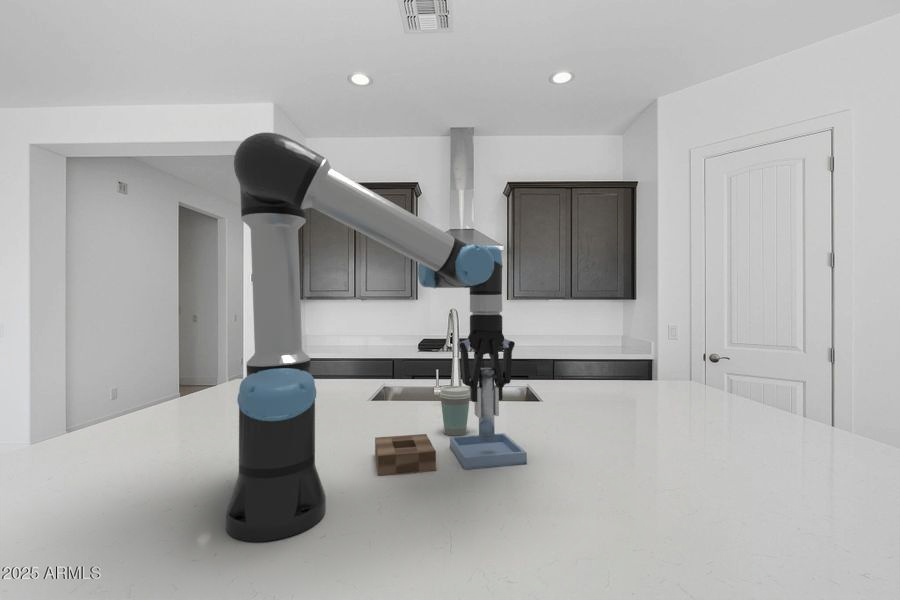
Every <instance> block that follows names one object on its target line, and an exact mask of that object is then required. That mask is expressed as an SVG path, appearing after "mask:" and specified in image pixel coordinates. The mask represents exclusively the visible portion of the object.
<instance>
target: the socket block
mask: <svg viewBox="0 0 900 600" xmlns="http://www.w3.org/2000/svg"><path fill="white" fill-rule="evenodd" d="M374 457H375V463H376V464H375V465H376V470H377V476H378V477H379V476H387V475H388V476H389V475H400V474H409V473H410V474H411V473H420V472H423V473H424V472H431V471H437V460H436V459H437V452H436V449H435V447H434V446H433V444H432V442H431V440H430V438H429V436H428V435H427V433H424V434H423V433H422V434H421V433H420V434H408V435H407V434H406V435H393V436H379V437H378V436H377V437H374Z"/></svg>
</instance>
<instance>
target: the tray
mask: <svg viewBox="0 0 900 600" xmlns="http://www.w3.org/2000/svg"><path fill="white" fill-rule="evenodd" d="M449 448H450V450H451V452H452V453H453V454H454V456H455V457H456V459H457V460H458V461H459V463H460V465H461V467H462V468H463V469H464V470H473V469H474V470H475V469H483V468H484V469H485V468H486V469H487V468H497V467H507V466H519V465H520V466H521V465H527V461H528V460H527V458H528V457H527V451H526V450H524V448H522V447H521V446H520V445H519V444H518V443H516V442H515V441H514V440H513V439H512V438H511V437H509V436H508V435H507V434H506V433H503V432H501V433H500V432H499V433H495V440H494V441H491V442H483V441H480V440H479V434H477V435H475V434H474V435H461V436H450V437H449Z"/></svg>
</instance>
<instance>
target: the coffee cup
mask: <svg viewBox="0 0 900 600" xmlns="http://www.w3.org/2000/svg"><path fill="white" fill-rule="evenodd" d="M439 398H440V403H441V404H440V405H441V412H442V420H443V421H442V422H443V429H444V430H443V431H444V432H443V433H444V435H447V436H450V437H459V436H465V435H466V434H467V426H468V417H469V411H470V410H469V407H470V401H471V399H470V388H469V387H468V386H461V385H449V386H443V387H441V389H440V392H439Z"/></svg>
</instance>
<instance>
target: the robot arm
mask: <svg viewBox="0 0 900 600" xmlns="http://www.w3.org/2000/svg"><path fill="white" fill-rule="evenodd" d="M233 168H234V173H235V177H236V178H237V181H238V183H239V188H240V191H239V192H240V213H241V221H242V222H243V223H245V225H247V226H248V227H249V229H250V248H251V250H250V251H251V253H250V254H251V276H252V278H251V280H252V303H253V304H252V305H253V306H252V307H253V309H252V310H253V311H252V312H253V334H254V335H253V337H254V338H253V340H254V354H253V355H252V356H251V357H250V358H249V359H248V360H247V361H246V377H244V379H243V380H241V382H240V385H239V389H238V390H239V392H238V394H237V404H238V418H239V419H238V477H237V479H236V482H235V485H234V488H233V491H232V494H231V497H230V500H229V502H228V506H227V509H226V514H225V529H226V532H227V533H228V535H230V536H231V537H233V538H235V539H238V540H242V541H248V542H267V541H274V540H280V539H284V538H288V537H291V536H294V535H297V534H300V533H302V532H303V531H306V530H308V529H310V528H312V527H314V526H315V525H316V524H317V523H318V522H320V520H321V519H322V518H323V517H324V516H325V514H326V511H327V510H326V509H327V507H326V503H327V499H326V492H325V490H324V487H323V484H322V481H321V478H320V476H319V472H318V469H317V467H316V398H317V388H316V383H315V382H316V381H315V378H314V376H313V375H312V370H311V369H312V367H311V357H310V355H308V354H307V353H305V352H304V350H303V340H302V339H303V338H302V315H301V314H302V312H301V311H302V309H301V308H302V307H301V305H302V304H301V281H300V280H301V279H300V277H301V276H300V252H299V250H300V248H299V245H300V244H299V230H300V229H301V227H303V225H305V224H306V222H307V221H306V218H307V217H306V210H307V209H310V208H311V209H314V210H316V211H318V212H320V213H322V214H323V215H326V216H328V217H330V218H331V219H333V220H335V221H338V222H339V223H341V224H343V225H345V226H346V227H349V228H351V229H352V230H354V231H357V232H359V233H361V234H362V235H364V236H367V237H368V238H370V239H372V240H373V241H376V242H377V243H380V244H381V245H384V246H386V247H388V248H390V249H391V250H393V251H396V252H397V253H399V254H401V255H403V256H404V257H406V258H409V259H411V260H413V261H414V262H417V263H418V264H417V275H418V282H419V284H420V285H421V286H422V287H423V288H430V289H431V288H432V289H436V288H437V289H455V288H456V289H457V288H460V289H461V288H463V289H465V288H466V289H469V312H470V313H472V314H470V316H469V334H468V336H467V339H465V340H462V341H458V342H457V348H458V350H459V352H460V353H459V354H460V364H461V367H460V368H461V380H462V384H464V385H465V387H470V388H469V391H470V401H471V402H472V403H474V415H475V416H476V417H477V418H479V417H481V388H479V375H480V369H481V368H482V362H483V359H484V355H486V354H488V356H489V358H490V363H491V368H493V369H495V375H494V417H498V416H499V415H500V411H499V410H500V407H499V406H500V404H499V402H500V401H502V400H503V397H504V396H503V388H504V387H505V385H507V384H510V383H511V380H512V379H511V378H512V376H511V375H512V357H513V349H514V348H515V344H516V343H515V341H512V340H510V339H509V340H508V339H506V338H505V335H504V334H503V316H502V314H500V313H502V312H503V256H502V250H501V249H500V248H499V247H498V246H494V245H481V244H476V243H469V244H467V243H466V242H464V241H463V240H460V239H459V238H456V237H454V236H452V235H451V234H449V233H447V232H445V231H443V230H441V229H440V228H439V227H437V226H435V225H433V224H431V223H429V222H427V221H426V220H424V219H422V218H421V217H418V216H417V215H415V214H413V213H411V212H410V211H409V210H407V209H405V208H402V207H401V206H399V205H398V204H395V203H393V202H392V201H390V200H388V199H386V198H385V197H383V196H381V195H379V194H378V193H376V192H375V191H372V190H371V189H369V188H367V187H366V186H364V185H361V184H360V183H358V182H357V181H355V180H354V179H351V178H349V177H348V176H346V175H344V174H342V173H340V172H338V171H337V170H335V169H334V168H332V167H331V166H330V163H329V159H327V158H326V157H324V156H322V154H319V153H318V152H315V151H314V150H312V149H310V148H308V147H307V146H305V145H302V144H301V143H299V142H298V141H296V140H293V139H291V138H289V137H288V136H286V135H283V134H280V133H276V132H275V133H273V132H260V133H254V134H252V135H250V136H248V137H246V138H245V139H244V140H243V141H242V142H240V144H239V145H238V148H237V149H236V151H235V153H234V157H233ZM470 346H471V347H472V348H473V351H474V352H473V361H472V362H473V363H472V369H471V374H470V362H469V361H470V360H469V352H468V351H469V349H470ZM501 346H502V348H503V351H502V353H503V354H502V356H503V357H502V370H501V365H500V359H499V357H500V356H499V348H500V347H501ZM499 417H500V416H499Z"/></svg>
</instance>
